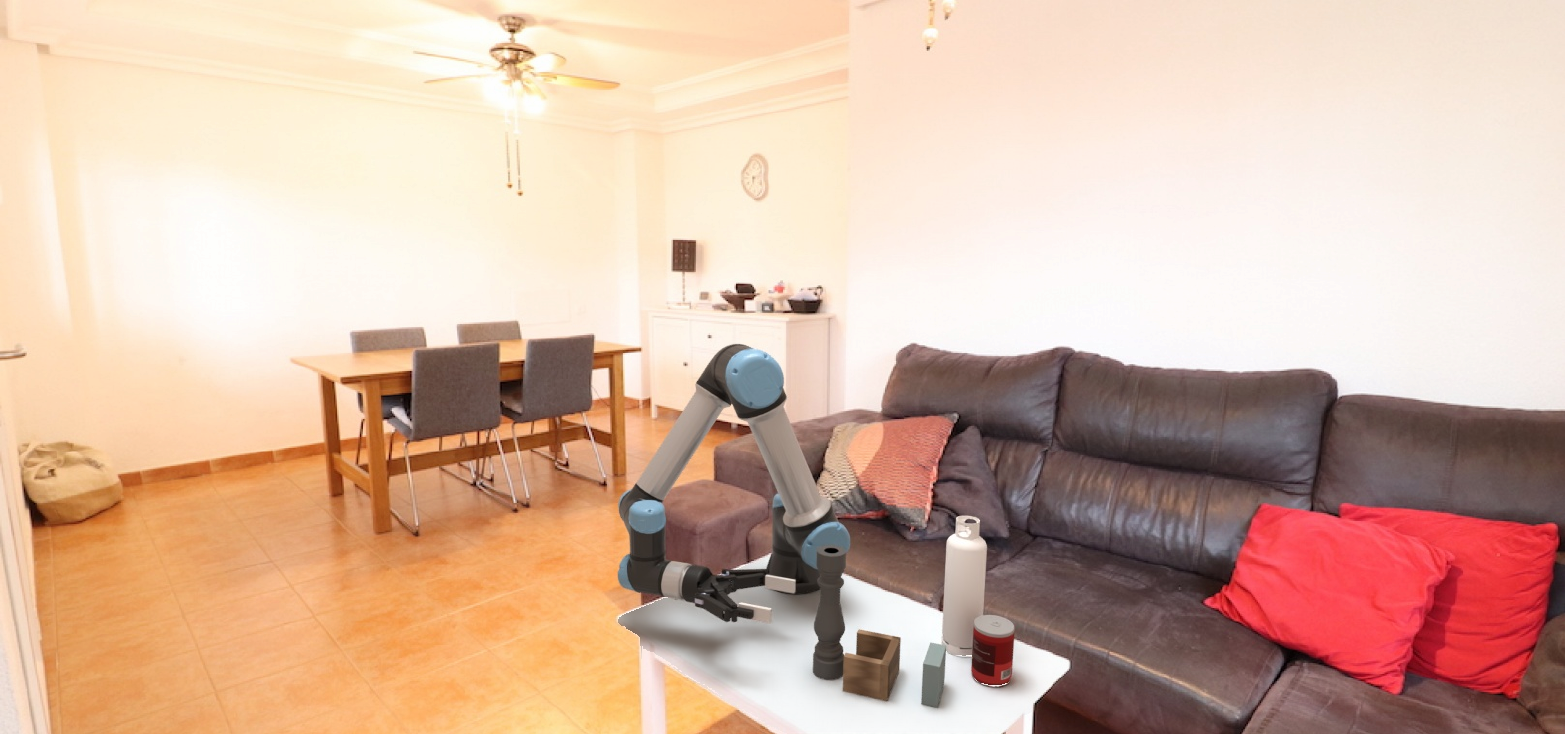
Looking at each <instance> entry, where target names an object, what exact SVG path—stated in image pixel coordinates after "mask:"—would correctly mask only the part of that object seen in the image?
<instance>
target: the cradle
mask: <svg viewBox="0 0 1565 734" xmlns="http://www.w3.org/2000/svg"><path fill="white" fill-rule="evenodd" d="M901 640H902V639H901V637H899V636H895V635H889V634H886V633H880V632H875V631H870V630H864V629H859V628H858V630H857V632H856V648H855V650H856V651H855V654H854V653H849V652H845V653H844V662H843V676H842V692H845V693H849V694H853V695H858V696H861V697H868V698H871V699H877V700H880V701H885V702H888V701H889V697H890V694H891V692H892V690H893V687H894V685H895V683H896V680H897V678H898V674H899V672H900V664H901V663H900V661H901V659H900V658H901Z"/></svg>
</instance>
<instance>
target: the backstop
mask: <svg viewBox="0 0 1565 734" xmlns="http://www.w3.org/2000/svg"><path fill="white" fill-rule="evenodd" d="M946 655H947V652H946V645H942V643H934V642H929V645H928V648H927V651H926V654H925V657H924V659H923V662H922V663H923V664H922V679H921V680H922V681H921V697H920V699H921V701H920V704H921V705H923V706H928V707H933V708H937V709H938V708H939V704H940V701H941V697H942V694H943V690H944V687H945V678H946V676H945V675H946Z"/></svg>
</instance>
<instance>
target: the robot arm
mask: <svg viewBox="0 0 1565 734" xmlns="http://www.w3.org/2000/svg"><path fill="white" fill-rule="evenodd" d="M783 372H784V371H783V370H782V367H781V365H780V364H779V362H778V361H777V360H776V359H775V358H774V357H772V355H770V354H769V353H768V352H766V351H763V350H761V349H758V348H754V347H751V346H749V345H746V344H742V343H732V344H729V345H726V346H724V347H723V348H721V349H720V350H718V351H717V352H716V354H714V356H713V357H712V358H711V359H710V361H709V362H708V363H707V365H706V367H705V368H704V370H703V371H702V372H701V375H700V376H699V377H698V379H697V381H696V382H695V384H694V385H695V386H694V387H695V392H694V394H693V395H692V397H691V398H690V400H689V401H688V403H687V404H686V406H685V407H684V409H683V411H682V412H681V413H680V415H679V417H677V420H675V423H674V424H673V426H672V427H671V428H670V430H669V432H668V433H667V435H666V436H665V438H664V440H663V441H662V442H661V444H660V446H659V447H658V449H657V450H656V452H655V454H654V455H653V456H652V458H651V459H650V460H649V462H648V464H647V466H646V467H645V468H644V470H643V472H642V473H641V474H640V477H639V478H638V480H637V481H636V482H635V484H634V485H633V486H632V487H631V489H629V490H626V491H625V492H623V494H622V495H621V496H620V498H619V500H618V502H617V503H618V507H617V508H618V514H619V517H620V519H621V520H622V521H623V524H624V526H625V529H626V530H627V533H628V536H629V537H628V538H629V539H628V540H629V553H628V554H626V555H625V556H624V557H622V559H621V561H620V563H619V565H618V568H619V569H618V571H617V581H618V584H619V585H620V586H621V587H622V588H623V589H626V590H629V591H633V592H635V593H639V594H648V595H653V596H660V597H664V598H669V599H673V600H675V601H685V602H687V603H692V604H694V606H695V607H696V608H700V609H703V610H705V611H706V612H709V613H710V614H711V615H713V616H715V617H716V618H719V619H720V620H722V621H724V622H725V623H729V622H732V623H736V622H738V618H742V619H747V620H751V621H755V622H762V623H766V624H771V623H772V608H771V607H766V606H761V605H756V604H750V603H748V602H747V603H746V602H742V601H741V602H739V603H738V604H737V603H736V602H735V601H734V600H733V599H732V598H731V597H730V596H729V595H730V594H731V593H736V592H737V591H738V590H744V589H751V588H757V587H764V589H768V590H773V591H777V592H780V593H783V594H792V595H797V594H799V595H801V594H808V593H812V592H816V591H817V590H819V589H820V590H821V588H820V586H819V585H818V582H817V579H818V578H819V577H820V573H819V572H818V568H817V565H816V564H817V549H818V547H821V546H824V545H836V546H840V547H843V548H844V549H845V550H846V554H847V553H848V552H849V550H850V547H851V535H850V533H849V531H848V529H847V528H846V527H845V525H844V524H843V523H841V522H839V520H838V517H837V515H836V513H835V510H834V508H833V506H832V503H831V500H830V499H829V498H828V497H826V496H823V495H822V496H821V494H820V492H819V489H818V486H817V483H816V481H815V479H814V477H813V474H812V472H811V470H810V469H811V468H810V467H809V465H808V462H807V460H806V457H805V455H804V453H803V451H802V447H801V446H800V443H799V441H798V438H797V435H796V434H795V431H794V428H793V425H792V424H791V421H790V419H789V416H788V414H787V412H786V409H785V408H784V407H785V404H786V401H787V400H788V397H787V394H786V391H785V389H784V385H785V377H784V373H783ZM731 406H732V407H733V409H734V412H735V414H736V416H737V418H738V419H739V420H741V421H744V422H746V423H747V424H748V427H749V429H750V432H751V433H752V436H753V438H754V441H755V442H756V445H757V447H758V449H759V451H760V453H761V456H762V459H763V460H764V464H765V466H766V468H767V470H768V472H769V474H770V477H771V479H772V482H773V484H774V487H775V489H776V491H777V493H776V494H775V495H774V496H773V499H772V500H773V501H772V507H771V509H772V525H771V526H772V531H771V533H772V536H771V537H772V538H771V539H772V540H771V541H772V544H771V545H772V547H771V548H772V550H771V553H770V556H769V559H768V563H767V564H766V568H753V569H752V568H751V569H749V568H747V569H746V568H745V569H730V568H721V574H717V575H716V574H713V572H712V571H711V569H710V568H709V567H707V566H704V565H697V564H691V563H687V562H680V561H675V560H670V559H666V522H667V518H666V509H665V506H664V504H663V502H664V501H665V499H666V497H667V496H668V494H669V493H670V491H672V490H671V489H672V488H673V486H674V485H675V484H676V482H677V481H678V479H679V478H680V476H681V475H682V473H683V471H684V469H685V468H686V466H687V465H688V463H689V462H690V461H691V459H692V457H693V456H694V454H695V453H696V452H697V450H698V449H699V447H700V446H701V444H702V442H703V440H704V439H705V437H706V436H707V435H708V434H709V432H710V431H711V428H712V427H713V426H714V424H715V422H716V421H717V420H718V418H719V416H720V415H721V413H722V412H723V410H724V409H726V408H730V407H731Z"/></svg>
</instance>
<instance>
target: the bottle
mask: <svg viewBox="0 0 1565 734" xmlns="http://www.w3.org/2000/svg"><path fill="white" fill-rule="evenodd" d="M966 520H974V521H975V523H967V522H966ZM980 521H981V520H980V518H978V517H977V516H972V515H959V516H957V517H955V533H953V534H951V535H950V536H949V537H948V538H947V540H946V547H945V567H944V586H943V588H944V589H943V609H942V626H941V627H942V629H941V634H942V636H941V645H946V651H947V652H948V653H947V652H946V653H947V654H949V653H950V655H952V656H954V655H962V656H966V655H972V646H973V628H974V621H975V619H976V618H977V617H979V616H983V615H984V603H985V589H986V588H985V587H986V585H985V584H986V573H987V572H986V570H987V555H988V554H987V552H988V545H987V543H986V540H985V539H983V537H982V536H980V524H981V522H980Z"/></svg>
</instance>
